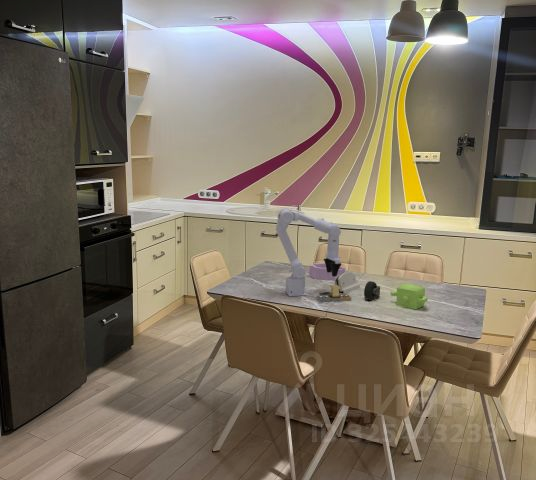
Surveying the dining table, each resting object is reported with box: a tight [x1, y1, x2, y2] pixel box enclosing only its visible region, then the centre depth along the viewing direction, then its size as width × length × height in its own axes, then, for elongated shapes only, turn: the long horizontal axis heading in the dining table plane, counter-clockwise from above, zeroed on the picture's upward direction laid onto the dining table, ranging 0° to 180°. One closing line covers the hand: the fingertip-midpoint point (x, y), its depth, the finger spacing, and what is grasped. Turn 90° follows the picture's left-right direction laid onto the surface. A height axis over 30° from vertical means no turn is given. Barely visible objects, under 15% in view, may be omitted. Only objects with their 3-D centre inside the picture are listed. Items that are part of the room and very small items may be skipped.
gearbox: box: [390, 283, 428, 310], centre depth 238 cm, size 18×10×10 cm, turn 48°
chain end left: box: [316, 294, 342, 303], centre depth 244 cm, size 10×6×2 cm, turn 104°
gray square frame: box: [318, 291, 331, 295], centre depth 251 cm, size 5×5×1 cm
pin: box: [329, 284, 340, 298], centre depth 245 cm, size 4×4×7 cm
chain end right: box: [328, 293, 352, 302], centre depth 246 cm, size 10×6×2 cm, turn 104°
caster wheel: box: [363, 280, 381, 301], centre depth 249 cm, size 6×10×15 cm
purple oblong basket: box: [308, 262, 346, 282], centre depth 285 cm, size 20×12×7 cm, turn 61°
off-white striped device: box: [333, 271, 361, 294], centre depth 263 cm, size 17×5×10 cm, turn 140°
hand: (331, 274), depth 253 cm, fingers open, 7 cm apart
